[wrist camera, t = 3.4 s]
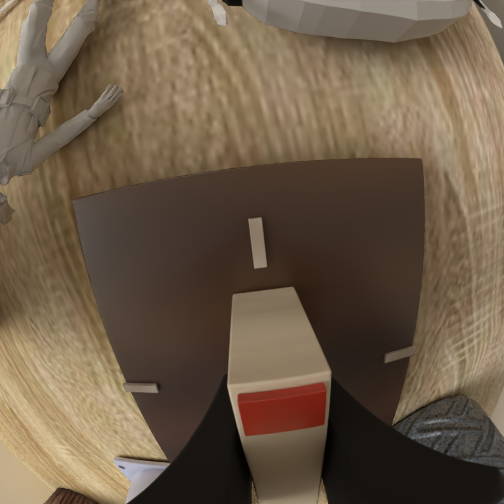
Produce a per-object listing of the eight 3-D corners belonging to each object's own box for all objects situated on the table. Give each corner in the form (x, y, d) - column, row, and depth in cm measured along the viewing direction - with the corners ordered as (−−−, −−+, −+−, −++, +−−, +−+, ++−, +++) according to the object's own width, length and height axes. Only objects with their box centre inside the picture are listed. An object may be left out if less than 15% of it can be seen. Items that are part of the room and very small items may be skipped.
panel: (368, 413, 14) (386, 450, 11) (182, 436, 14) (175, 477, 11) (383, 160, 10) (427, 158, 7) (108, 193, 10) (66, 201, 7)
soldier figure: (174, -7, 9) (94, 238, 8) (126, 38, 12) (64, 238, 11) (49, -58, 3) (-110, 203, 2) (22, 2, 6) (-74, 215, 5)
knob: (300, 433, 10) (317, 515, 6) (257, 439, 10) (264, 522, 6) (293, 285, 8) (336, 380, 4) (232, 293, 8) (225, 395, 4)
